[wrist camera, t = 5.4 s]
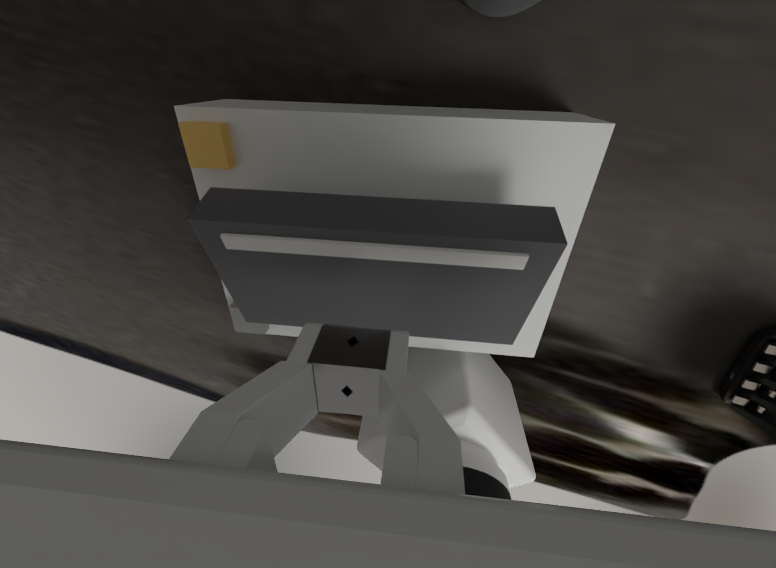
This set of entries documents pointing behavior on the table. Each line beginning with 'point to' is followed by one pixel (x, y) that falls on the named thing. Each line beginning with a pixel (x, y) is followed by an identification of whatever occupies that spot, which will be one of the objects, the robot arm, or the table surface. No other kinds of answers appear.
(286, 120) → the panel
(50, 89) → the table surface
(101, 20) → the table surface
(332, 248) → the dark gray slim case
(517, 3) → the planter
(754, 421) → the battery charger
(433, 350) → the medicine bottle
